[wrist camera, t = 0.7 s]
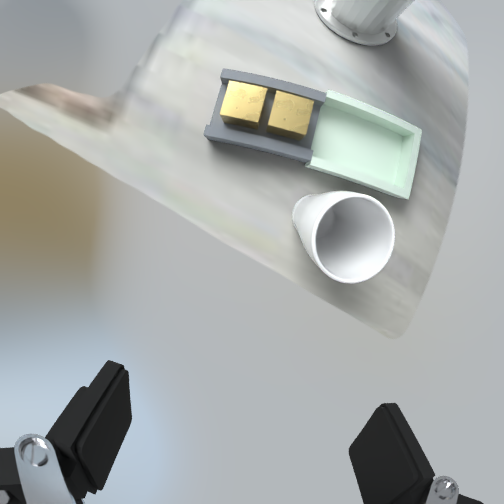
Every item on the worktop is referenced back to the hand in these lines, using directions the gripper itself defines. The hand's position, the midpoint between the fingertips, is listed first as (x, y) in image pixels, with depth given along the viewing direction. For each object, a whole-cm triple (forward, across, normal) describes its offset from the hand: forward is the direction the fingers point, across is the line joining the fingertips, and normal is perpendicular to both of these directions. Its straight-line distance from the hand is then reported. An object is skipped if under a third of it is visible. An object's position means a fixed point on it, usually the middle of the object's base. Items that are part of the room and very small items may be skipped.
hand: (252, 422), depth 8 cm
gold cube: (+25, +4, -16) cm, 30 cm away
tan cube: (+25, -1, -16) cm, 30 cm away
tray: (+27, -10, -16) cm, 32 cm away
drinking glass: (+27, -6, -6) cm, 28 cm away
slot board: (+27, +2, -16) cm, 31 cm away
